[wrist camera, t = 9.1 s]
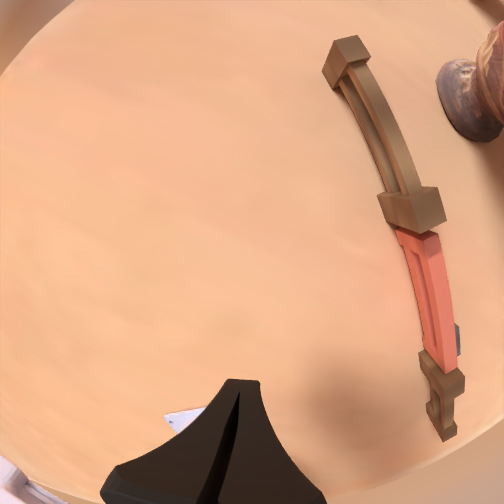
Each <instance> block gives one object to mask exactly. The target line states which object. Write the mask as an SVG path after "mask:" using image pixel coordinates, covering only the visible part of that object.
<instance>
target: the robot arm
mask: <svg viewBox="0 0 504 504" xmlns="http://www.w3.org/2000/svg"><path fill="white" fill-rule="evenodd" d="M164 419H165V420H166V421H167V423H168V424H169V425H170V426H171V427H172V428H173V430H174V431H175V432H176V433H177V435H176V436H175V437H173V438H172V439H170V440H169V441H167V442H166V443H164V444H163V445H161V446H160V447H158V448H156V449H154V450H152V451H150V452H149V453H147V454H145V455H143V456H141V457H138V458H136V459H134V460H131V461H128V462H126V463H123V464H120V465H117V466H115V468H114V469H113V471H112V472H111V473H110V474H109V476H108V477H107V479H106V481H105V483H104V485H103V487H102V488H101V490H100V496H101V498H102V499H103V501H104V502H105V503H106V504H327V502H326V500H325V498H324V496H323V494H322V492H321V491H320V490H319V489H318V488H317V487H315V486H314V485H313V484H312V483H311V482H310V481H309V480H308V479H307V478H306V477H305V475H304V474H303V473H302V472H301V471H300V470H299V469H298V467H297V466H296V465H295V463H294V462H293V461H292V460H291V458H290V457H289V456H288V454H287V453H286V451H285V450H284V448H283V446H282V445H281V443H280V441H279V440H278V438H277V436H276V434H275V432H274V430H273V428H272V426H271V424H270V421H269V419H268V416H267V413H266V411H265V408H264V405H263V401H262V397H261V392H260V382H259V381H257V380H240V379H227V380H226V381H225V383H224V385H223V386H222V388H221V389H220V391H219V392H218V393H217V395H216V396H215V397H214V399H213V400H212V401H211V402H210V403H209V405H208V406H207V407H203V408H198V409H193V410H187V411H182V412H176V413H170V414H166V415H165V417H164ZM172 421H173V422H172ZM0 504H69V503H67V502H65V501H64V500H62V499H60V498H58V497H56V496H55V495H53V494H51V493H50V492H48V491H46V490H44V489H43V488H41V487H40V486H38V485H36V484H35V483H33V482H32V481H30V480H29V479H28V478H27V476H26V475H25V474H24V473H23V472H22V471H21V470H20V469H19V468H18V467H17V466H16V465H14V464H13V463H12V462H10V461H9V460H8V459H6V458H5V457H4V456H1V457H0Z"/></svg>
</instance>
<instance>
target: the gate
mask: <svg viewBox="0 0 504 504" xmlns="http://www.w3.org/2000/svg"><path fill="white" fill-rule="evenodd" d="M395 231H396V234H397V237H398V240H399V244H400V245H402V246H403V248H404V251H405V255H406V258H407V262H408V265H409V269H410V273H411V277H412V281H413V285H414V289H415V293H416V297H417V302H418V307H419V311H420V316H421V321H422V327H423V332H424V336H423V337H422V339H423V345H424V348H425V349H426V351H427V352H428V353H429V354H430V356H431V357H432V358H433V359H434V361H435V362H436V363H437V365H438V366H439V367H440V368H441V370H442V371H443V372H444V374H447V373H449V372H450V371H452V370H454V369H455V368H457V348H456V335H455V325H454V316H453V308H452V301H451V295H450V289H449V283H448V277H447V272H446V267H445V262H444V257H443V253H442V249H441V244H440V240H439V236H438V233H435V232H432V231H430V230H427V231H425V232H423V233H421V234H420V233H417V232H414V231H412V230H409V229H406V228H404V227H400V228H397V229H395Z"/></svg>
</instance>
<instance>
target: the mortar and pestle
mask: <svg viewBox="0 0 504 504" xmlns="http://www.w3.org/2000/svg"><path fill="white" fill-rule="evenodd" d="M435 81H436V83H437V88H438V92H439V96H440V99H441V102H442V104H443V106H444V109H445V111H446V113H447V116H448V118H449V119H450V121H451V122H452V124H453V125H454V127H455V128H456V129H457V130H458V131H459V132H460V133H461V134H462V135H464V136H465V137H467V138H468V139H470V140H472V141H477V142H490V141H491V140H493V139H495V138H496V137H498V136H499V134H500V132H501V131H502V129H503V127H504V20H503V21H502V22H500V23H499V24H498V25H497V26H496V27H494V28H493V29H492V30H491V31H490V33H489V34H488V38H487V41H485V42H484V43H483V44H482V45H481V47H480V48H479V50H478V53H477V58H476V63H474V62H472V61H470V60H454V61H451V62H448V63H446V64H444V65H443V67H442V68H441V70H440V72H439V74H438V76H437V78H436V79H435Z"/></svg>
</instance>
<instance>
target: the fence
mask: <svg viewBox="0 0 504 504" xmlns="http://www.w3.org/2000/svg"><path fill="white" fill-rule="evenodd" d="M370 57H371V56H370V54H369V52H368V51H367V49H366V47H365V46H364V44H363V43H362V41H361V40H360V38H359V37H358V35H355V36H350V37H346V38H342V39H338V40H334V42H333V44H332V47H331V49H330V52H329V54H328V57H327V59H326V62H325V64H324V67H323V69H322V73H323V74H324V76H325V78H326V80H327V81H328V83H329V85H330V87H331V89H335V88H338V87H340V88H341V90H342V91H343V93H344V95H345V97H346V99H347V101H348V103H349V105H350V107H351V109H352V111H353V113H354V115H355V117H356V119H357V121H358V123H359V125H360V127H361V130H362V132H363V134H364V136H365V138H366V141H367V143H368V145H369V147H370V150H371V152H372V154H373V157H374V159H375V162H376V164H377V167H378V169H379V172H380V174H381V177H382V179H383V182H384V185H385V187H386V190H387V191H386V192H383V193H381V194H378V195H377V197H378V200H379V203H380V205H381V208H382V211H383V214H384V217H385V220H386V221H387V222H390V223H393V224H395V225H398V226H401V227H404V228H406V229H409V230H412V231H414V232H417V233H420V234H421V233H423V232H425V231H427V230H429V229H431V228H433V227H435V226H437V225H439V224H441V223H443V222H445V221H447V219H446V216H445V212H444V208H443V204H442V201H441V197H440V194H439V191H438V188H437V187H422V186H421V183H420V180H419V177H418V174H417V171H416V169H415V166H414V163H413V161H412V158H411V155H410V153H409V150H408V148H407V145H406V143H405V140H404V138H403V136H402V133H401V131H400V129H399V126H398V124H397V122H396V120H395V118H394V116H393V113H392V111H391V109H390V107H389V105H388V103H387V101H386V99H385V97H384V95H383V93H382V91H381V89H380V87H379V86H378V84H377V82H376V80H375V78H374V76H373V75H372V73H371V71H370V69H369V68H368V66H367V64H366V63H367V61H368V60H369V59H370ZM454 325H455V335H456V348H457V356H459V355H460V334H459V326H457V325H456V324H455V323H454ZM418 354H419V361H420V368H421V370H422V371H423V373H424V374H425V376H426V377H427V379H428V380H429V382H430V387H431V401H430V402H428V403H426V410H427V414H428V415H429V417H430V419H431V421H432V423H433V425H434V427H435V428H436V430H437V432H438V434H439V436H440V438H441V440H442V442H445V441H446V440H448V439H450V438H452V437H453V436H455V435H457V425H456V423H455V422H454V420H453V416H454V398H456V397H457V396H459V395H461V394H462V393H464V387H465V376H464V375H463V373H462V372H461V371H460V370H459V369H458V367H457V368H455V369H454V370H452V371H450V372H449V373H447V374H444V372H443V371H442V370H441V368H440V367H439V366H438V365H437V363H436V362H435V361H434V359H433V358H432V357H431V356H430V354H429V353H428V352H427V351H426V349H425V350H423V351H421V352H419V353H418Z"/></svg>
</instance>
